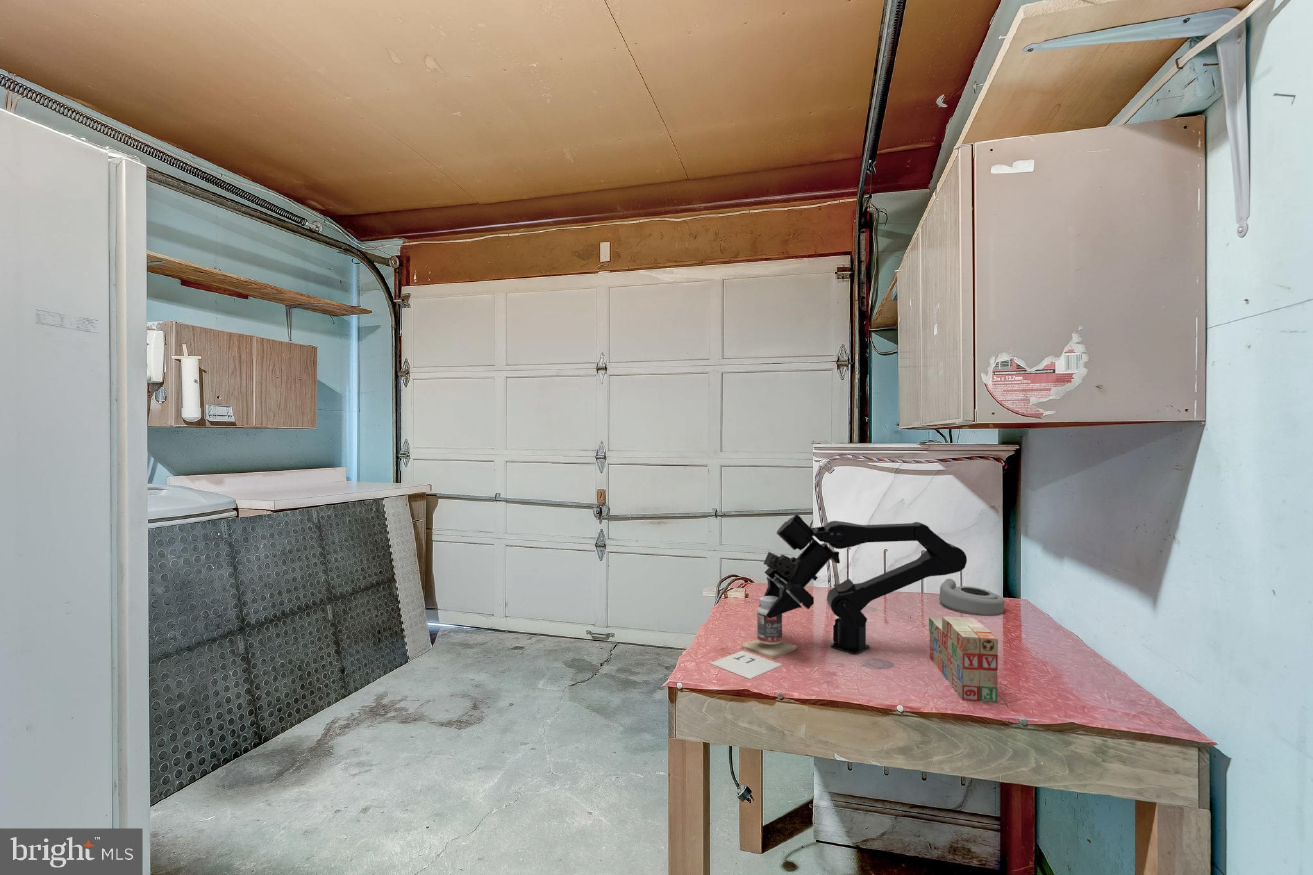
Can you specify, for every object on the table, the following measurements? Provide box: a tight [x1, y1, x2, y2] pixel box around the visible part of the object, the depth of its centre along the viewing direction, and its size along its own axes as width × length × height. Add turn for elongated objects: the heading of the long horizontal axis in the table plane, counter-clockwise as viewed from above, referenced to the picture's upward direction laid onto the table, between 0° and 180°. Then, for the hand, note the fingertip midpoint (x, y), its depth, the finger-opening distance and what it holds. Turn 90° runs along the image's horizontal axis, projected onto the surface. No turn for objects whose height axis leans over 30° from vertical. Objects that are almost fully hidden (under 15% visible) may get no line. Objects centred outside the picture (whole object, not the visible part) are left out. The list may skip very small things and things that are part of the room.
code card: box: [709, 650, 783, 680], centre depth 124 cm, size 11×11×1 cm
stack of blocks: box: [928, 616, 999, 703], centre depth 117 cm, size 21×6×12 cm, turn 170°
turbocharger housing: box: [939, 578, 1006, 616], centre depth 167 cm, size 17×6×15 cm
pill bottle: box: [756, 595, 783, 644], centre depth 134 cm, size 6×6×10 cm
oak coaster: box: [741, 638, 797, 659], centre depth 134 cm, size 9×9×1 cm
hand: (763, 613), depth 134 cm, fingers closed on pill bottle, 6 cm apart
